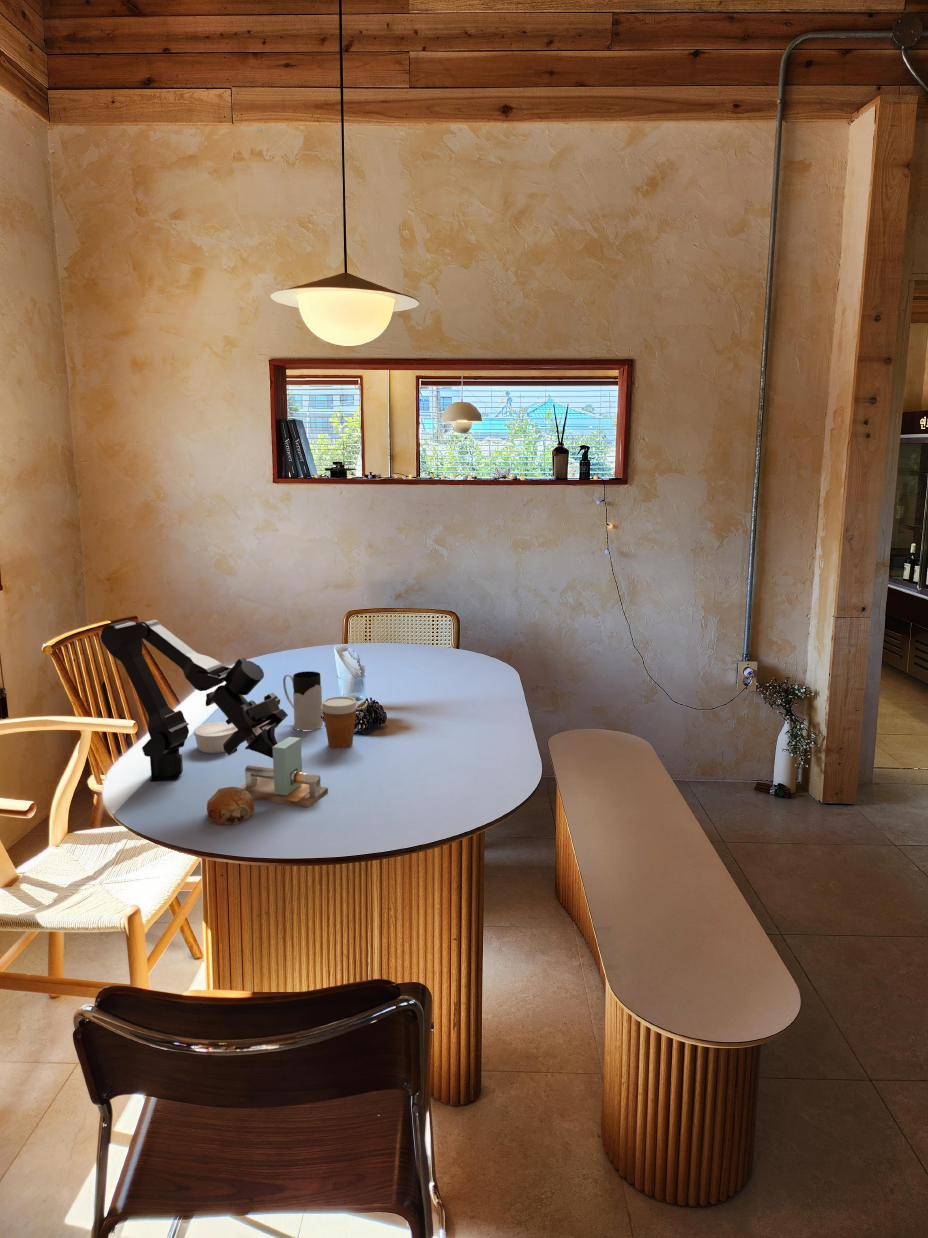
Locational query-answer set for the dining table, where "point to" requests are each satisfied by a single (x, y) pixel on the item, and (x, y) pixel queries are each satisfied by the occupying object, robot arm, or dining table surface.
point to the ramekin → (213, 736)
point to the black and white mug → (306, 700)
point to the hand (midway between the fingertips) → (280, 759)
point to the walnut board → (296, 797)
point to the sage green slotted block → (286, 764)
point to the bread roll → (230, 806)
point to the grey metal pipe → (295, 777)
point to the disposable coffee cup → (339, 721)
